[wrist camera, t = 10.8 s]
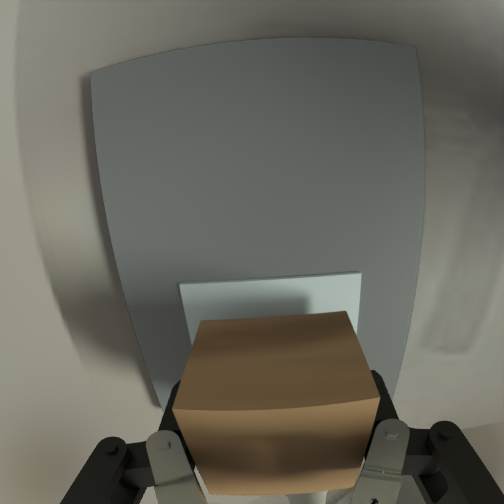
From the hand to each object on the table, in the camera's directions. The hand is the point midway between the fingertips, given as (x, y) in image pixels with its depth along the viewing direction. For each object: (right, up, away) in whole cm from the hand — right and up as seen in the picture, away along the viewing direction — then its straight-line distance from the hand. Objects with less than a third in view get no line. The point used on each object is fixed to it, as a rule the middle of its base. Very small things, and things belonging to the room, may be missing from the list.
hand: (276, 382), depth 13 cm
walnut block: (0, 0, +1) cm, 1 cm away
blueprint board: (0, +5, +2) cm, 5 cm away
